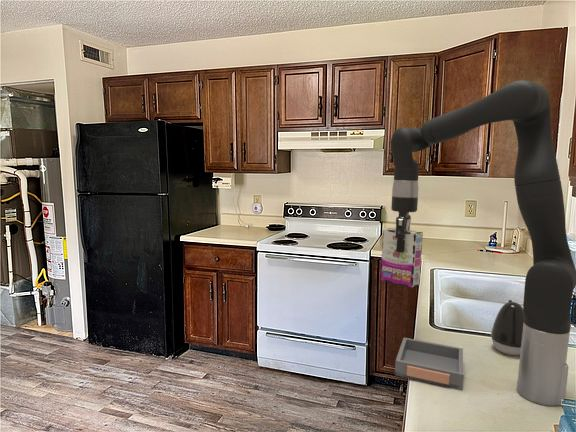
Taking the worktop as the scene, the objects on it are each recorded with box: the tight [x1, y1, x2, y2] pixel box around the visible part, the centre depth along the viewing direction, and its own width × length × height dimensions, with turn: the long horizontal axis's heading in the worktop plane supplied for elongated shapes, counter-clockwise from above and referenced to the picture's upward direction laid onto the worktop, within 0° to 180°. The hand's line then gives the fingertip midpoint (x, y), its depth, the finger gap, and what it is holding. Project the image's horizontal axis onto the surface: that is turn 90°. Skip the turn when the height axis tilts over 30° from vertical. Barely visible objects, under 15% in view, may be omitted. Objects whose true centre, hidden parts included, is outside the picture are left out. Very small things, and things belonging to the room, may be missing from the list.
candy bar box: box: [380, 227, 424, 288], centre depth 123 cm, size 11×5×16 cm, turn 45°
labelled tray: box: [394, 337, 464, 391], centre depth 107 cm, size 16×17×4 cm
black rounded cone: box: [490, 299, 524, 356], centre depth 119 cm, size 10×10×15 cm
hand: (401, 250), depth 123 cm, fingers closed on candy bar box, 6 cm apart
